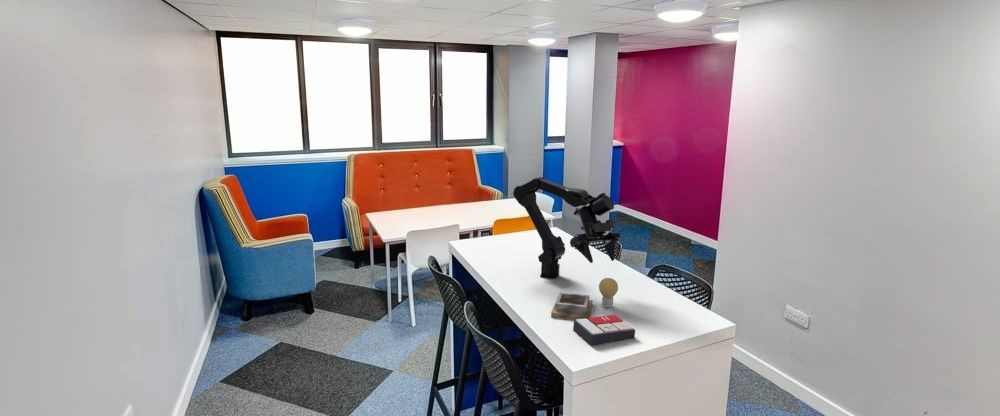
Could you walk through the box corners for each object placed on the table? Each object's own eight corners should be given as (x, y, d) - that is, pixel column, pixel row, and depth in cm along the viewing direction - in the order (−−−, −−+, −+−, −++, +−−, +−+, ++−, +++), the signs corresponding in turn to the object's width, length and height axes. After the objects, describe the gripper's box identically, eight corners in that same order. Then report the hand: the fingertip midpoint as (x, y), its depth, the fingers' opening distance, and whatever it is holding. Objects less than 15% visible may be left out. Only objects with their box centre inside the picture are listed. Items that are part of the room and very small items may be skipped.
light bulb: (617, 304, 178) (619, 276, 176) (615, 311, 172) (617, 283, 170) (599, 301, 180) (600, 274, 178) (596, 308, 174) (598, 280, 172)
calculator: (636, 327, 153) (592, 333, 147) (634, 341, 154) (590, 347, 148) (615, 313, 163) (573, 317, 157) (614, 325, 164) (572, 330, 158)
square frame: (551, 316, 167) (551, 305, 166) (557, 300, 180) (558, 289, 179) (588, 321, 164) (589, 309, 163) (592, 304, 177) (593, 293, 176)
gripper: (579, 212, 177) (592, 254, 171) (622, 210, 186) (636, 250, 179) (563, 226, 186) (576, 266, 180) (605, 223, 195) (618, 262, 189)
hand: (602, 261), depth 182 cm, fingers open, 9 cm apart
